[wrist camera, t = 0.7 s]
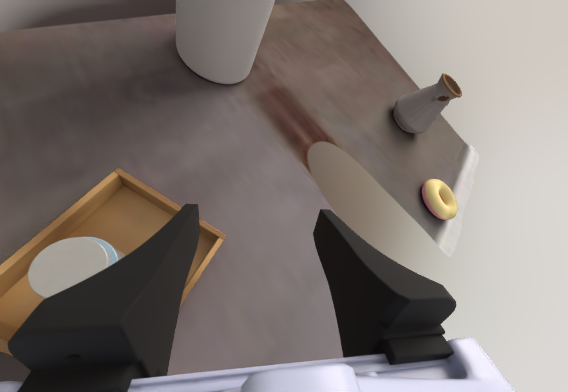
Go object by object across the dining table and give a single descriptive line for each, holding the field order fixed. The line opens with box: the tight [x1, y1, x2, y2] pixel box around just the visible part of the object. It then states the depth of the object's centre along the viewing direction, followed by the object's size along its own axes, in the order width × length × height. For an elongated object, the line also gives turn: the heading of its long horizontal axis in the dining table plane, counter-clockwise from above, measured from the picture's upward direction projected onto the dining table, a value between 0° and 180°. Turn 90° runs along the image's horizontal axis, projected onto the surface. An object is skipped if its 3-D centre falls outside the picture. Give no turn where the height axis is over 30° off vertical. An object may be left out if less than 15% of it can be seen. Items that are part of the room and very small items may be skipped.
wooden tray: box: [0, 168, 226, 357], centre depth 21 cm, size 15×13×4 cm
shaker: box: [28, 237, 126, 299], centre depth 17 cm, size 4×4×9 cm
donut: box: [422, 179, 458, 220], centre depth 51 cm, size 10×5×9 cm
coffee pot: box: [393, 74, 462, 133], centre depth 51 cm, size 21×12×15 cm, turn 135°
